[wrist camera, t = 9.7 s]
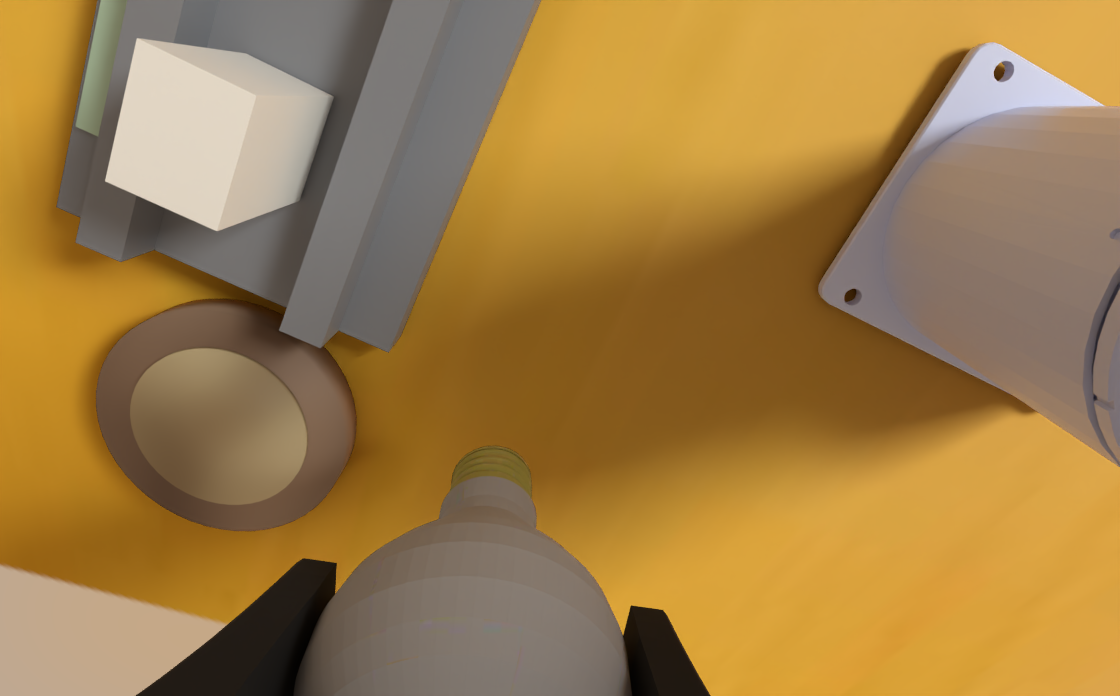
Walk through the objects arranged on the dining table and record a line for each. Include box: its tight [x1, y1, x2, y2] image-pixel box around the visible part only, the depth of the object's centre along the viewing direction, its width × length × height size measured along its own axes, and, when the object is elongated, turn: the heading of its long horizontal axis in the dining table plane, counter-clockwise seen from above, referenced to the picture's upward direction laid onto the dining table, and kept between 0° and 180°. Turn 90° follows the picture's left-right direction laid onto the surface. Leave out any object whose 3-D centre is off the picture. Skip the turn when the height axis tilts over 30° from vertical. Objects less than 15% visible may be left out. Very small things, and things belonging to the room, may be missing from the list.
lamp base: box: [96, 299, 356, 531], centre depth 22 cm, size 8×8×1 cm
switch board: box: [57, 0, 541, 353], centre depth 17 cm, size 10×16×3 cm, turn 154°
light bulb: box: [293, 446, 632, 696], centre depth 13 cm, size 5×6×10 cm
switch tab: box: [105, 38, 334, 231], centre depth 15 cm, size 2×3×4 cm
